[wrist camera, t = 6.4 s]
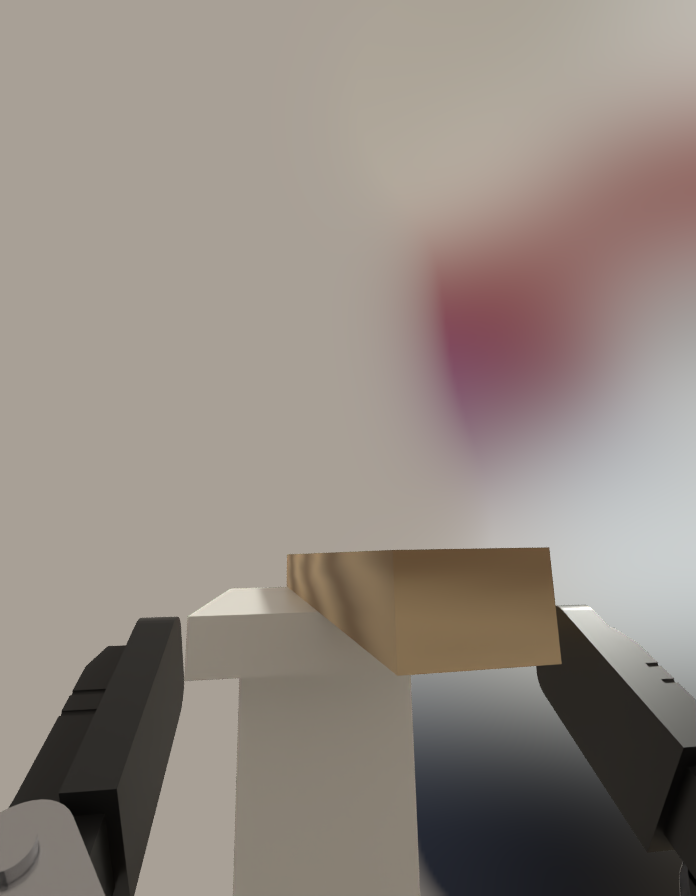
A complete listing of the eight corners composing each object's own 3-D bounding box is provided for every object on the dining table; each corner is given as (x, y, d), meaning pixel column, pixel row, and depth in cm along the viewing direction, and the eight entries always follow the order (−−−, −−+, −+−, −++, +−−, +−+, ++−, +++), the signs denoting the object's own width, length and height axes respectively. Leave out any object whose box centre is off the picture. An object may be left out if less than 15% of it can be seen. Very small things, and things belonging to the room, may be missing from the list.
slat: (561, 663, 8) (549, 547, 9) (397, 675, 8) (392, 550, 8) (332, 585, 31) (332, 553, 32) (286, 586, 31) (287, 554, 31)
